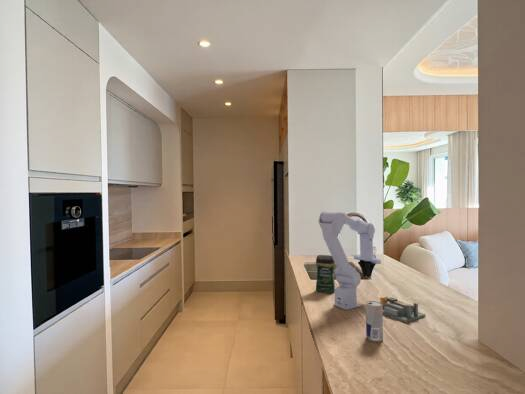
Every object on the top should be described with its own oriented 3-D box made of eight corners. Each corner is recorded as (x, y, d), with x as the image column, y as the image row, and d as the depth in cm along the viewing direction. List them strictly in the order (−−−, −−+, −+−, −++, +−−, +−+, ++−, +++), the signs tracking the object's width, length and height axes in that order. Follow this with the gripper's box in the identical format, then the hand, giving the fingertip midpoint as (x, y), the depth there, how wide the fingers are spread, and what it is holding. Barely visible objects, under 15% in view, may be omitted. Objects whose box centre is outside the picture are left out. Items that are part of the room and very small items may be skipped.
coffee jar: (314, 292, 161) (314, 256, 161) (317, 288, 169) (317, 253, 169) (334, 294, 158) (333, 257, 158) (336, 290, 165) (335, 254, 165)
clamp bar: (415, 308, 125) (415, 304, 125) (411, 309, 124) (411, 305, 124) (388, 299, 137) (388, 296, 137) (383, 300, 135) (383, 297, 135)
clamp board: (406, 322, 121) (406, 308, 121) (372, 310, 135) (372, 297, 135) (425, 316, 127) (425, 302, 127) (391, 305, 141) (391, 292, 141)
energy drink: (369, 334, 111) (369, 299, 111) (385, 338, 108) (384, 302, 108) (363, 339, 107) (363, 303, 107) (379, 343, 104) (379, 307, 104)
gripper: (384, 249, 146) (385, 278, 146) (360, 245, 158) (361, 272, 159) (374, 251, 142) (375, 281, 143) (350, 246, 155) (351, 274, 155)
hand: (367, 276), depth 150 cm, fingers closed
